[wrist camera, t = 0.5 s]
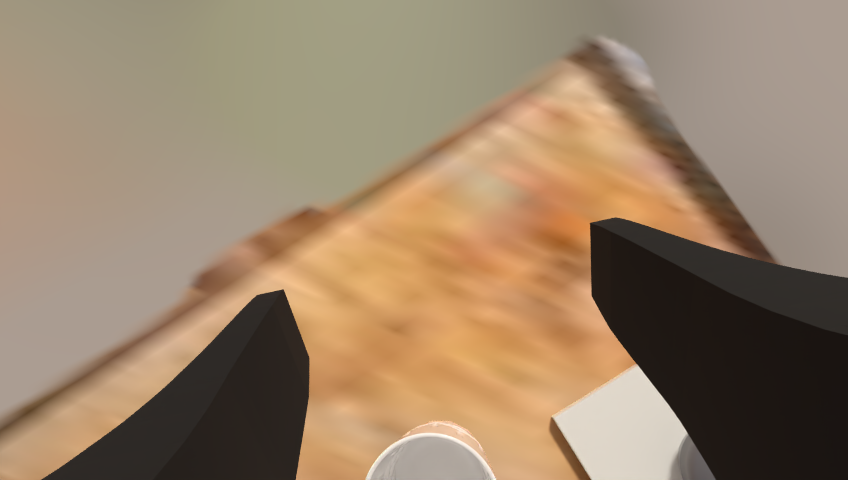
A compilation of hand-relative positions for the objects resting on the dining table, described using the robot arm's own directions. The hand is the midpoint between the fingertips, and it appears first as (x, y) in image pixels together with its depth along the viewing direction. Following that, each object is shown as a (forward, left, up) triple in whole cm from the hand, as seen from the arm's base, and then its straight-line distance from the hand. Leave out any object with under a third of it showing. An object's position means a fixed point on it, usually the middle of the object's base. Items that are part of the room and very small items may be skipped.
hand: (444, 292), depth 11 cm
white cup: (-7, +7, -28) cm, 30 cm away
